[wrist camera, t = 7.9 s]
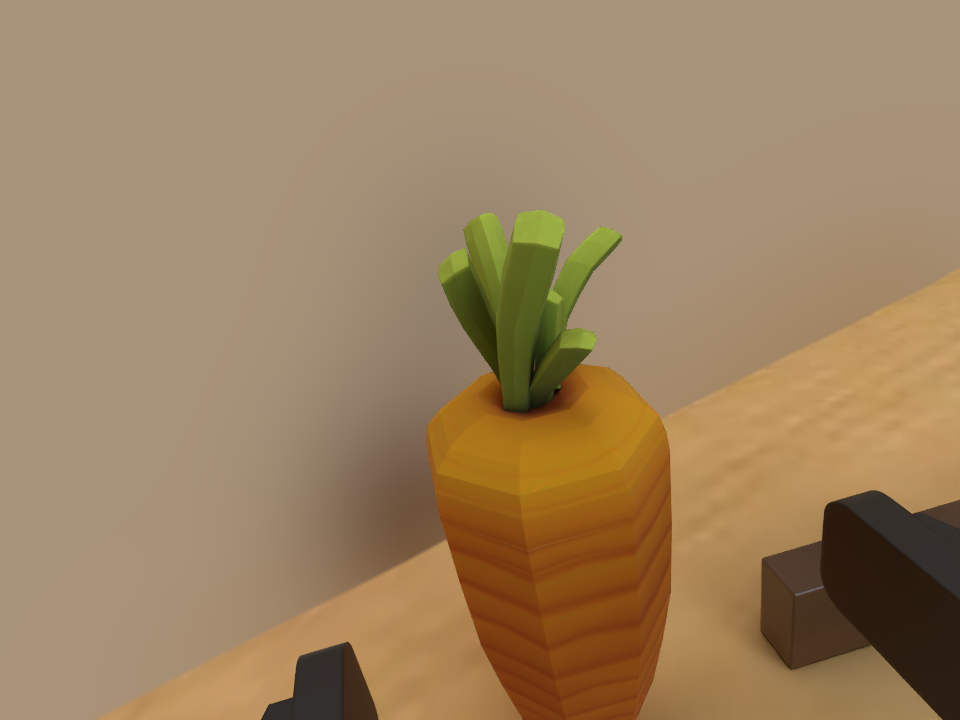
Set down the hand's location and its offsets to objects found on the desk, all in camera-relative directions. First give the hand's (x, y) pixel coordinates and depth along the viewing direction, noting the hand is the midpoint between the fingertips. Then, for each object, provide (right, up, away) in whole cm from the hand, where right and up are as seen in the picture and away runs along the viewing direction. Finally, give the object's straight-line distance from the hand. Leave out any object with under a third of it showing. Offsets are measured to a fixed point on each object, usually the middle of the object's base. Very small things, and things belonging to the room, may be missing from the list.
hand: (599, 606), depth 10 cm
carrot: (+1, -7, +7) cm, 10 cm away
